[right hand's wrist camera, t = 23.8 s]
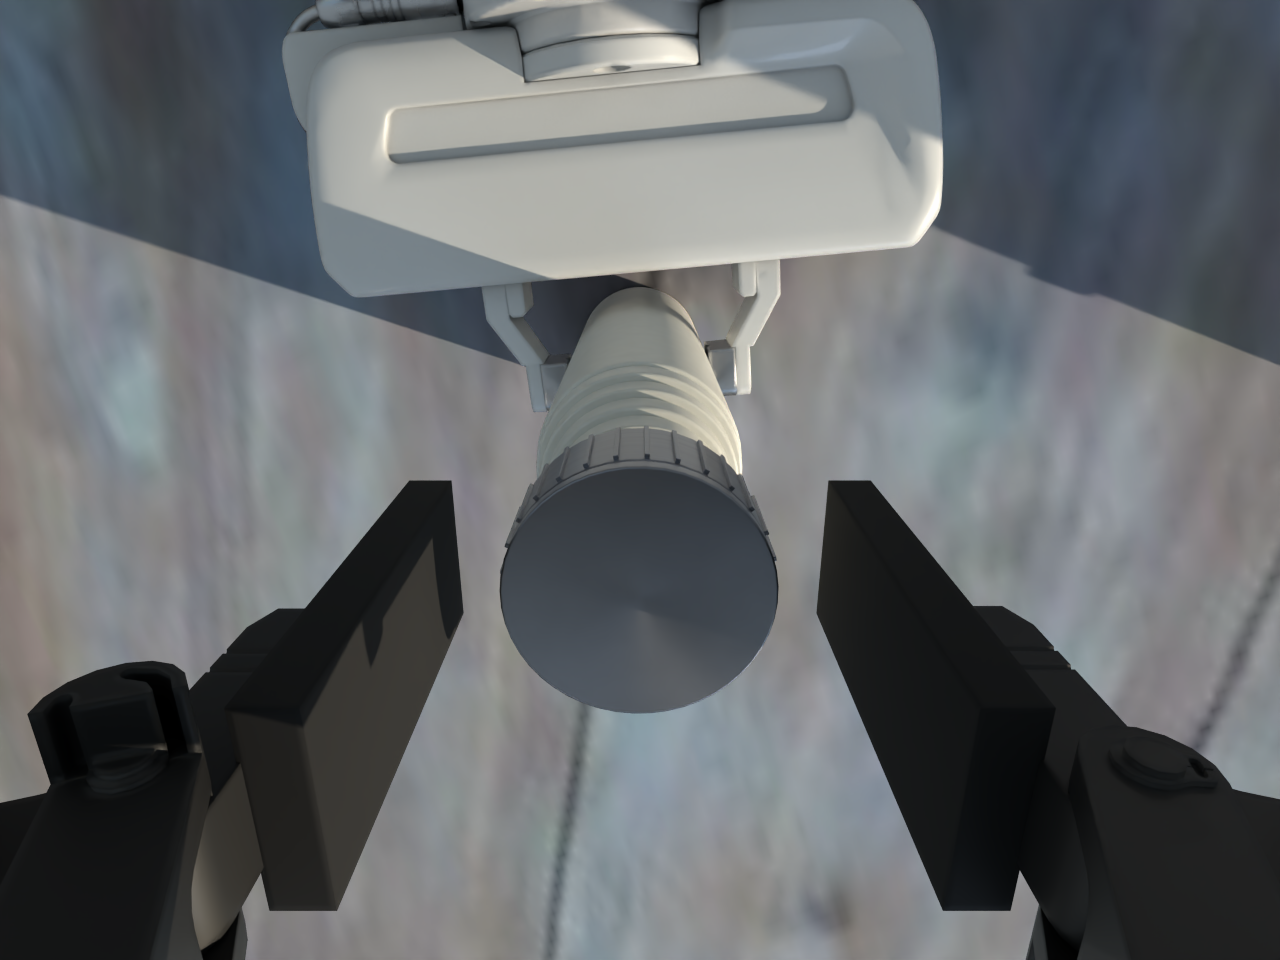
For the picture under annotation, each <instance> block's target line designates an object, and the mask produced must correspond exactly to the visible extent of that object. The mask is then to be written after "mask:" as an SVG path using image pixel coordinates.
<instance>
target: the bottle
mask: <svg viewBox="0 0 1280 960" xmlns="http://www.w3.org/2000/svg"><path fill="white" fill-rule="evenodd" d="M644 426H649V428H650V429H659V430H665V431H669V432H672V430H675V431H677V434H680V435H683V436H685V437H688V438H691V439H693V440H695V441H698V440H701V441H702V442H703V445H704V446H706V447H708V448H709V449H711V450H712V451H713V452H715V453H716V454H718V455H719V456H720V455H721V454H722V455H723V456H724V457H725V459H726V462H727V463H728V464H729V465H730V466H731V467H732V468H733V469H734V471H735V472H736V473H737V474H740V473H741V475H742V459H741V458H742V454H741V443H740V439H739V434H738V430H737V428H736V425H735V422H734V420H733V417H732V415H731V413H730V410H729V408H728V405H727V403H726V401H725V398H724V396H723V394H722V391H721V389H720V386H719V384H718V382H717V379H716V377H715V375H714V372H713V370H712V368H711V365H710V363H709V360H708V358H707V356H706V353H705V351H704V349H703V346H702V344H701V341H700V339H699V337H698V334H697V332H696V330H695V327H694V325H693V323H692V320H691V318H690V317H689V315H688V313H687V312H686V310H685V309H684V308H683V307H682V305H681V304H680V303H679V302H678V301H676V300H675V299H674V298H672V297H671V296H669V295H668V294H666V293H664V292H661V291H659V290H656V289H652V288H646V287H633V288H627V289H623V290H620V291H618V292H615V293H613V294H611V295H610V296H608V297H607V298H605V299H604V300H603V301H602V302H600V303H599V305H598V306H597V307H596V308H595V309H594V310H593V312H592V313H591V315H590V317H589V318H588V320H587V323H586V325H585V327H584V330H583V332H582V334H581V337H580V339H579V341H578V344H577V346H576V348H575V351H574V353H573V355H572V358H571V360H570V363H569V365H568V367H567V370H566V372H565V374H564V377H563V379H562V381H561V384H560V386H559V388H558V391H557V393H556V395H555V398H554V400H553V402H552V405H551V407H550V409H549V412H548V414H547V416H546V419H545V421H544V424H543V427H542V429H541V433H540V437H539V441H538V450H537V466H536V469H537V479H538V478H539V476H540V475H541V473H542V470H543V468H544V465H545V464H546V463H548V464H549V465H550V464H551V463H552V461H553V460H554V459H556V458H557V457H558V456H560V455H561V454H562V453H563V452H564V448H566V447H567V446H568V447H569V448H571V447H572V446H574V445H576V444H578V443H579V442H581V441H583V440H586V439H588V437H589V435H591V434H593V435H594V436H595V435H598V434H602V433H605V432H609V431H613V430H616V428H617V427H621V429H627V428H644Z"/></svg>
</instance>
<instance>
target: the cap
mask: <svg viewBox="0 0 1280 960" xmlns="http://www.w3.org/2000/svg"><path fill="white" fill-rule="evenodd" d="M768 535H769V532H768V530H767V527H766V525H765V522H764V519H763V517H762V514H761V512H760V509H759V506H758V504H757V501H756V499H755V496H754V495H753V496H750V493H749V491H748V489H747V486H746V484H745V481H744V478H743V476H742V475H741V473H740V474H737V473H736V472H735V471H734V469H733V468H732V467H731V466H730V465H729V464H728V463H727V462H726V459H725V457H724V456H723V455H722V454H721V455H720V456H719V455H718V454H716V453H715V452H713V451H712V450H711V449H709V448H708V447H706V446H704V445H703V442H702V441H701V440H698V441H695V440H693V439H691V438H688V437H685V436H683V435H680V434H677V431H675V430H672V432H669V431H665V430H659V429H650V428H649V426H644V428H627V429H621V427H617V428H616V430H613V431H609V432H605V433H602V434H598V435H595V436H594V435H593V434H591V435H589V437H588V439H586V440H583V441H581V442H579V443H578V444H576V445H574V446H572V447H571V448H569V447H568V446H567V447H566V448H564V452H563V453H562V454H561V455H560V456H558V457H557V458H556V459H554V460H553V461H552V463H551V464H550V465H549V464H548V463H546V464H545V465H544V468H543V470H542V473H541V475H540V476H539V478H538V479H537V480H536V482H535V483H534V485H533V484H530V485H529V487H528V490H527V492H526V495H525V498H524V500H523V503H522V505H521V507H520V508H519V510H518V513H517V515H516V518H515V520H514V523H513V526H512V528H511V531H510V533H509V536H508V538H507V541H506V544H505V547H506V548H508V549H507V552H506V555H505V558H504V561H503V565H502V567H501V570H500V574H501V577H500V600H501V609H502V613H503V617H504V621H505V624H506V627H507V629H508V632H509V634H510V637H511V639H512V641H513V643H514V644H515V646H516V648H517V650H518V651H519V653H520V654H521V656H522V657H523V658H524V660H525V661H526V662H527V663H528V665H529V666H530V667H531V668H532V669H533V670H534V671H535V672H536V673H537V674H538V675H539V676H540V677H541V678H542V679H544V680H545V681H546V682H547V683H549V684H550V685H551V686H552V687H554V688H555V689H557V690H559V691H560V692H562V693H564V694H565V695H567V696H569V697H571V698H573V699H575V700H578V701H580V702H582V703H585V704H588V705H591V706H594V707H597V708H600V709H605V710H610V711H615V712H624V713H655V712H663V711H669V710H673V709H677V708H681V707H685V706H688V705H690V704H693V703H696V702H699V701H701V700H703V699H705V698H707V697H709V696H711V695H713V694H715V693H716V692H718V691H719V690H721V689H723V688H724V687H726V686H727V685H729V684H730V683H731V682H732V681H733V680H735V679H736V678H737V677H738V676H739V675H740V674H741V673H742V672H743V671H744V670H745V669H746V668H747V667H748V666H749V665H750V664H751V663H752V661H753V660H754V659H755V657H756V656H757V654H758V653H759V651H760V650H761V649H762V647H763V645H764V643H765V641H766V639H767V637H768V635H769V633H770V630H771V627H772V624H773V622H774V619H775V614H776V609H777V604H778V577H777V569H776V565H775V561H776V556H775V553H774V550H773V548H772V545H771V542H770V540H769V537H768Z"/></svg>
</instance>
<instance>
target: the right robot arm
mask: <svg viewBox="0 0 1280 960" xmlns="http://www.w3.org/2000/svg"><path fill="white" fill-rule="evenodd" d="M462 615H463V602H462V591H461V580H460V569H459V558H458V547H457V536H456V525H455V514H454V503H453V492H452V481H409V482H408V483H407V484H406V485H405V487H404V488H403V489H402V490H401V492H400V493H399V494H398V495H397V496H396V498H395V499H394V500H393V501H392V503H391V504H390V505H389V506H388V508H387V509H386V510H385V511H384V512H383V514H382V515H381V516H380V517H379V519H378V520H377V521H376V522H375V523H374V525H373V526H372V527H371V528H370V530H369V531H368V532H367V533H366V534H365V536H364V537H363V538H362V539H361V541H360V542H359V543H358V544H357V546H356V547H355V548H354V549H353V550H352V552H351V553H350V554H349V555H348V557H347V558H346V559H345V560H344V561H343V563H342V564H341V565H340V566H339V568H338V569H337V570H336V571H335V572H334V574H333V575H332V576H331V577H330V579H329V580H328V581H327V582H326V584H325V585H324V586H323V587H322V588H321V590H320V591H319V592H318V593H317V595H316V596H315V597H314V598H313V599H312V601H311V602H310V603H309V604H308V606H307V607H306V608H305V609H277V610H275V611H274V612H272V613H270V614H269V615H267V616H265V617H263V618H262V619H260V620H258V621H257V622H255V623H253V624H252V625H250V626H248V627H247V628H246V629H245V630H244V631H243V632H242V633H241V634H240V636H239V637H238V638H237V639H236V640H235V641H234V642H233V643H232V644H231V645H230V646H229V648H228V649H227V653H226V654H222V655H221V656H220V657H219V658H218V660H217V661H216V662H215V663H214V664H213V665H212V666H211V667H210V672H206V673H205V674H204V675H203V676H202V677H201V678H200V679H199V680H198V681H197V682H196V684H195V685H194V686H193V687H192V688H191V689H190V690H189V688H188V684H187V680H186V676H185V673H184V672H183V671H182V670H180V669H179V668H178V667H176V666H175V665H173V664H169V663H162V662H156V661H145V662H132V663H124V664H120V665H116V666H112V667H108V668H104V669H100V670H96V671H94V672H91V673H89V674H87V675H84V676H82V677H79V678H77V679H74V680H72V681H70V682H67V683H66V684H64V685H62V686H61V687H59V688H58V689H56V690H55V691H53V692H51V693H50V694H48V695H47V696H45V697H43V698H42V699H41V700H40V701H39V703H38V704H37V705H36V706H35V707H34V708H33V709H32V710H31V711H30V712H29V713H28V717H29V720H30V723H31V726H32V729H33V732H34V735H35V738H36V741H37V744H38V747H39V751H40V754H41V757H42V760H43V763H44V766H45V769H46V772H47V775H48V778H49V781H50V784H51V785H50V787H49V789H48V791H47V793H44V794H40V795H36V796H31V797H26V798H22V799H17V800H12V801H7V802H3V803H0V960H245V955H246V948H247V940H248V939H247V932H246V924H245V919H244V915H243V911H242V905H243V904H244V902H245V900H246V898H247V897H248V895H249V893H250V891H251V889H252V888H253V886H254V884H255V882H256V881H257V879H258V877H259V875H260V873H261V875H262V879H263V884H264V888H265V893H266V897H267V902H268V906H269V910H270V911H337V909H338V907H339V905H340V902H341V900H342V898H343V895H344V893H345V891H346V888H347V886H348V884H349V881H350V879H351V877H352V874H353V872H354V869H355V867H356V865H357V862H358V860H359V858H360V855H361V853H362V851H363V848H364V846H365V844H366V841H367V839H368V837H369V834H370V832H371V830H372V827H373V825H374V822H375V820H376V818H377V815H378V813H379V811H380V808H381V806H382V804H383V801H384V799H385V797H386V794H387V792H388V790H389V787H390V785H391V782H392V780H393V778H394V775H395V773H396V771H397V768H398V766H399V764H400V761H401V759H402V757H403V754H404V752H405V750H406V747H407V745H408V742H409V740H410V738H411V735H412V733H413V731H414V728H415V726H416V724H417V721H418V719H419V717H420V714H421V712H422V710H423V707H424V705H425V703H426V700H427V698H428V695H429V693H430V691H431V688H432V686H433V684H434V681H435V679H436V677H437V674H438V672H439V670H440V667H441V665H442V663H443V660H444V658H445V655H446V653H447V651H448V648H449V646H450V644H451V641H452V639H453V637H454V634H455V632H456V630H457V627H458V625H459V623H460V620H461V618H462ZM817 615H818V618H819V620H820V623H821V625H822V627H823V630H824V632H825V634H826V637H827V639H828V641H829V644H830V646H831V648H832V651H833V653H834V655H835V658H836V660H837V663H838V665H839V667H840V670H841V672H842V674H843V677H844V679H845V681H846V684H847V686H848V688H849V691H850V693H851V695H852V698H853V700H854V703H855V705H856V707H857V710H858V712H859V714H860V717H861V719H862V721H863V724H864V726H865V728H866V731H867V733H868V735H869V738H870V740H871V742H872V745H873V747H874V750H875V752H876V754H877V757H878V759H879V761H880V764H881V766H882V768H883V771H884V773H885V775H886V778H887V780H888V782H889V785H890V787H891V790H892V792H893V794H894V797H895V799H896V801H897V804H898V806H899V808H900V811H901V813H902V815H903V818H904V820H905V822H906V825H907V827H908V830H909V832H910V834H911V837H912V839H913V841H914V844H915V846H916V848H917V851H918V853H919V855H920V858H921V860H922V862H923V865H924V867H925V869H926V872H927V874H928V877H929V879H930V881H931V884H932V886H933V888H934V891H935V893H936V895H937V898H938V900H939V902H940V905H941V907H942V909H943V911H1010V910H1011V906H1012V902H1013V897H1014V893H1015V888H1016V884H1017V879H1018V875H1019V871H1021V873H1022V875H1023V876H1024V878H1025V880H1026V882H1027V884H1028V885H1029V887H1030V889H1031V891H1032V892H1033V894H1034V896H1035V898H1036V899H1037V901H1038V903H1039V907H1038V911H1037V915H1036V919H1035V924H1034V928H1033V932H1032V936H1031V940H1030V944H1029V948H1028V953H1027V957H1026V960H1280V799H1275V798H1271V797H1266V796H1261V795H1256V794H1251V793H1247V792H1242V791H1238V790H1234V789H1232V787H1231V785H1230V783H1229V782H1228V781H1227V780H1226V778H1225V777H1224V776H1223V775H1222V773H1221V772H1220V771H1219V770H1218V768H1217V767H1216V766H1215V765H1214V764H1213V763H1211V762H1210V761H1208V760H1207V759H1206V758H1204V757H1203V756H1202V755H1200V754H1199V753H1198V752H1196V751H1195V750H1193V749H1192V748H1190V747H1188V746H1186V745H1184V744H1182V743H1179V742H1177V741H1175V740H1173V739H1171V738H1169V737H1167V736H1165V735H1161V734H1158V733H1154V732H1151V731H1147V730H1144V729H1140V728H1137V727H1127V726H1126V724H1125V723H1124V722H1123V721H1122V720H1121V719H1120V718H1119V717H1118V716H1117V715H1116V714H1115V713H1114V711H1113V710H1112V709H1111V708H1110V707H1109V706H1108V705H1107V704H1106V703H1105V702H1104V701H1103V700H1102V698H1101V697H1100V696H1099V695H1098V694H1097V693H1096V692H1095V691H1094V690H1093V689H1092V688H1091V686H1090V685H1089V684H1088V683H1087V682H1086V681H1085V680H1084V679H1083V678H1082V677H1081V676H1080V675H1079V673H1078V672H1077V671H1076V670H1071V667H1070V666H1071V665H1070V664H1069V663H1068V662H1067V660H1066V659H1065V658H1064V657H1063V656H1062V655H1061V654H1060V653H1059V652H1058V651H1054V646H1053V645H1052V644H1051V643H1050V642H1049V641H1048V640H1047V639H1046V638H1045V637H1044V636H1043V634H1042V633H1041V632H1040V631H1039V630H1038V629H1037V628H1036V627H1035V626H1034V625H1033V624H1031V623H1030V622H1028V621H1026V620H1025V619H1023V618H1021V617H1020V616H1018V615H1016V614H1015V613H1013V612H1011V611H1009V610H1008V609H1006V608H1004V607H1003V606H972V604H971V603H970V602H969V601H968V599H967V598H966V597H965V596H964V595H963V593H962V592H961V591H960V590H959V588H958V587H957V586H956V585H955V584H954V582H953V581H952V580H951V579H950V577H949V576H948V575H947V574H946V572H945V571H944V570H943V569H942V568H941V566H940V565H939V564H938V563H937V561H936V560H935V559H934V558H933V557H932V555H931V554H930V553H929V552H928V550H927V549H926V548H925V547H924V546H923V544H922V543H921V542H920V541H919V539H918V538H917V537H916V536H915V534H914V533H913V532H912V531H911V530H910V528H909V527H908V526H907V525H906V523H905V522H904V521H903V520H902V519H901V517H900V516H899V515H898V514H897V512H896V511H895V510H894V509H893V508H892V506H891V505H890V504H889V503H888V501H887V500H886V499H885V498H884V496H883V495H882V494H881V493H880V492H879V490H878V489H877V488H876V487H875V485H874V484H873V483H872V482H871V481H828V492H827V503H826V514H825V525H824V536H823V547H822V558H821V569H820V580H819V591H818V602H817Z"/></svg>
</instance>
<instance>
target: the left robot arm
mask: <svg viewBox="0 0 1280 960" xmlns="http://www.w3.org/2000/svg"><path fill="white" fill-rule="evenodd" d="M315 3H316V5H314V6H311V7H309V8H307V9H306V10H304V11H303V12H301V13H300V14H299V15H298V16H297V17H296V18H295V20H294V21H293V22H292V24H291V26H290V27H289V29H288V32H287V34H286V36H285V38H284V40H283V45H282V58H283V65H284V70H285V74H286V79H287V83H288V88H289V92H290V97H291V101H292V106H293V109H294V111H295V114H296V116H297V119H298V121H299V123H300V125H301V126H302V128H303V129H304V131H305V132H306V133H307V152H308V167H309V179H310V190H311V199H312V207H313V214H314V221H315V228H316V234H317V240H318V246H319V251H320V256H321V261H322V264H323V267H324V269H325V271H326V272H327V273H328V275H329V276H330V277H331V278H332V279H334V280H335V281H336V282H337V283H338V284H339V285H340V286H341V287H342V288H343V289H344V290H345V291H346V292H347V293H349V294H350V295H351V296H353V297H358V298H360V297H373V296H383V295H394V294H405V293H416V292H427V291H438V290H449V289H460V288H470V287H481V288H482V294H483V301H484V307H485V314H486V320H487V322H488V323H489V324H490V326H491V327H492V328H493V329H494V331H495V332H496V333H497V335H498V336H499V337H500V338H501V340H502V341H503V342H504V343H505V345H506V346H507V347H508V349H509V350H510V351H511V352H512V354H513V355H514V356H515V357H516V359H517V360H518V361H519V363H520V364H521V365H522V366H526V371H527V378H528V385H529V391H530V398H531V405H532V408H533V411H534V412H547V411H549V409H550V407H551V405H552V402H553V400H554V398H555V395H556V393H557V391H558V388H559V386H560V384H561V381H562V379H563V377H564V374H565V372H566V370H567V367H568V365H569V363H570V360H571V354H556V355H549V353H548V351H547V350H546V348H545V347H544V346H543V344H542V343H541V341H540V340H539V339H538V337H537V336H536V335H535V333H534V332H533V330H532V329H531V328H530V326H529V325H528V323H527V322H526V321H525V319H524V318H523V316H524V315H525V314H526V313H527V312H528V311H529V310H530V309H531V308H532V307H533V306H534V302H533V294H532V286H531V282H536V281H547V280H557V279H568V278H579V277H590V276H601V275H612V274H623V273H634V272H644V271H655V270H666V269H677V268H688V267H699V266H710V265H721V264H731V267H732V283H733V288H734V289H735V290H736V291H737V292H738V293H739V294H740V295H742V296H743V297H745V299H744V301H743V303H742V305H741V307H740V309H739V312H738V314H737V316H736V318H735V320H734V322H733V324H732V326H731V328H730V330H729V332H728V334H727V336H726V339H724V340H715V341H706V342H704V347H705V353H706V356H707V358H708V360H709V363H710V365H711V368H712V370H713V372H714V375H715V377H716V379H717V382H718V384H719V386H720V389H721V391H722V394H723V396H729V395H741V394H750V392H751V369H750V346H753V345H754V343H755V341H756V339H757V337H758V336H759V334H760V332H761V330H762V328H763V326H764V324H765V322H766V321H767V319H768V317H769V315H770V313H771V311H772V309H773V307H774V306H775V304H776V302H777V300H778V298H779V296H780V259H786V258H797V257H808V256H818V255H829V254H840V253H851V252H862V251H873V250H884V249H894V248H905V247H911V246H913V245H915V244H916V243H917V242H918V241H919V240H920V239H921V238H922V236H923V235H924V234H925V232H926V231H927V230H928V228H929V227H930V225H931V224H932V223H933V221H934V220H935V218H936V217H937V215H938V213H939V210H940V206H941V198H942V185H943V133H942V111H941V95H940V84H939V74H938V63H937V56H936V49H935V44H934V40H933V36H932V33H931V30H930V27H929V24H928V22H927V20H926V18H925V16H924V14H923V12H922V11H921V9H920V8H919V6H918V5H917V4H916V3H915V2H914V1H913V0H315ZM464 17H465V19H464ZM319 20H321V22H322V24H323V25H324V26H325V27H326V28H331V29H322V30H312V31H306V30H307V29H308V28H309V27H310V26H311V25H312V24H313V23H315V22H317V21H319ZM398 21H399V22H398ZM381 22H382V23H381ZM384 22H389V23H384ZM377 23H380V24H377ZM369 24H370V25H369ZM467 29H468V30H467Z"/></svg>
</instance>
